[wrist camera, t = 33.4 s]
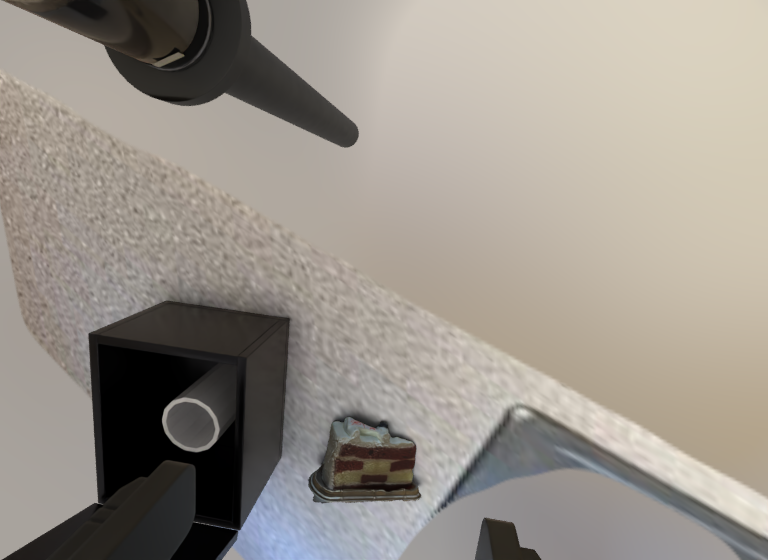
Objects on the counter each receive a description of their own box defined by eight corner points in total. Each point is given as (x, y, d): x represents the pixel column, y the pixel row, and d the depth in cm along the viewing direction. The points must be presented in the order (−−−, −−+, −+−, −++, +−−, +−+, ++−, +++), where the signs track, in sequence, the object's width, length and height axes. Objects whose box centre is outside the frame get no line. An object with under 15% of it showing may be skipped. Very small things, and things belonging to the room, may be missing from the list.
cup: (212, 355, 44) (161, 393, 35) (260, 362, 43) (219, 403, 35) (211, 399, 45) (162, 446, 37) (258, 406, 44) (219, 456, 36)
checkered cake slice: (440, 431, 44) (352, 441, 36) (428, 498, 43) (337, 524, 35) (381, 404, 51) (297, 407, 43) (370, 461, 50) (284, 475, 42)
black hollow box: (166, 300, 44) (87, 333, 34) (289, 318, 43) (246, 358, 33) (168, 437, 47) (97, 503, 37) (281, 457, 46) (240, 531, 36)
